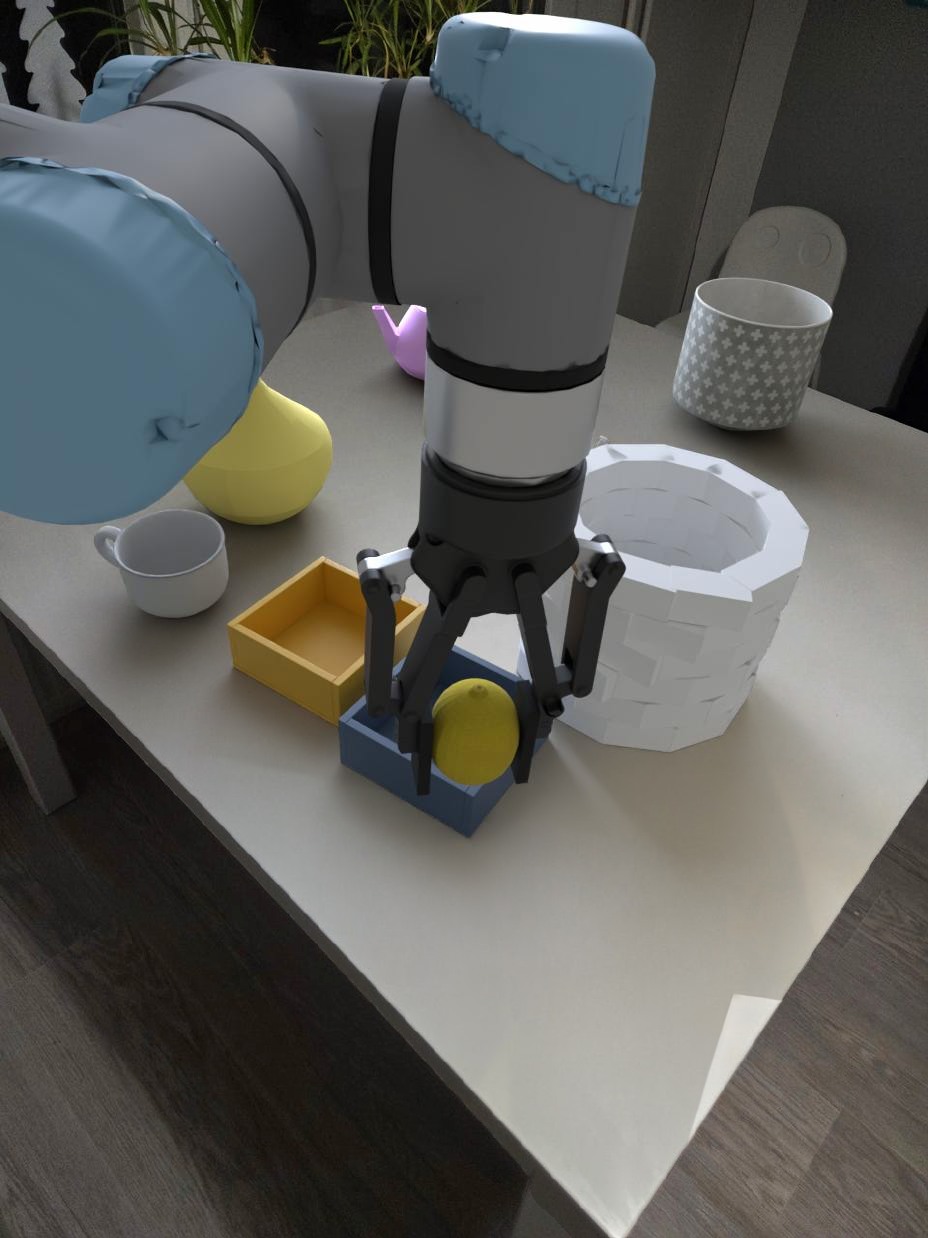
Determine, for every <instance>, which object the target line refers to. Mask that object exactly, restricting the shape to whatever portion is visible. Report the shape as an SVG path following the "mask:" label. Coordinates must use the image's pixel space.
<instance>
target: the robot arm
mask: <svg viewBox="0 0 928 1238" xmlns="http://www.w3.org/2000/svg"><path fill="white" fill-rule="evenodd" d="M435 51H436V52H435V57H434V58H435V59H434V61H432V64H431V65H430V67H429V76H417V75H416V76H415V75H414V76H412V77H410V79H409V78H399V77H391V78H384V77H375V76H366V75H358V74H357V75H356V74H347V73H339V72H331V71H324V70H323V71H322V70H314V69H313V70H312V69H305V68H296V67H288V66H287V67H286V66H278V65H269V64H261V63H253V62H243V61H235V60H227V59H219V58H218V57H217V56H216V55H215V54H212V53H206V52H205V53H204V52H196V51H194V50H192V52H188V53H186V54H183V55H170V56H169V55H167V56H165V55H164V56H163V55H141V54H140V55H139V54H128V55H121V56H118V57H116V58H114V59H110V60H108V61H107V62H106V63H105V64H104V65H102V67H101V68H100V69H99V70H97V72H96V73H95V77H94V79H93V87H92V93H91V94H90V95H87V96H86V97H85V98H84V101H83V102H82V105H81V109H80V113H79V119H78V120H79V121H78V122H74V121H68V120H63V119H58V118H55V117H52V116H49V115H46V114H42V113H39V112H35V111H33V110H32V111H31V110H28V109H25V108H22V107H19V106H15V105H11V104H9V103H8V104H7V103H4V102H1V101H0V512H3V513H5V514H6V513H7V514H10V515H12V516H16V517H18V518H22V519H25V520H30V521H34V522H39V523H43V524H51V525H60V526H86V525H95V524H103V523H107V522H111V521H116V520H119V519H124V518H127V517H129V516H132V515H134V514H137V513H139V512H141V511H144V510H146V509H147V508H149V507H151V506H152V505H154V504H156V502H158V501H160V500H161V499H162V498H163V497H164V496H166V495H167V494H168V493H170V492H171V491H172V490H173V489H174V488H175V487H176V486H177V485H178V484H179V483H180V482H181V481H182V478H183V477H184V476H185V475H186V474H187V473H188V472H189V471H190V470H191V469H192V468H193V467H194V466H195V465H196V464H197V463H198V462H199V461H200V460H201V459H202V457H203V456H204V455H205V454H206V453H207V452H208V451H209V450H210V449H211V448H212V447H213V446H214V445H216V444H217V443H218V442H219V441H220V440H222V439H223V438H224V437H225V436H226V435H227V434H228V433H229V432H230V431H231V429H232V427H233V425H234V424H235V423H236V422H237V421H238V420H239V419H240V418H241V417H242V416H243V414H244V412H245V411H246V409H247V406H248V403H249V400H250V398H251V395H252V392H253V390H254V388H255V387H256V386H257V384H258V381H259V378H261V376H262V375H263V373H264V371H265V370H266V369H267V367H268V365H269V364H270V363H271V361H272V359H273V358H274V357H275V355H276V354H277V352H278V350H279V349H280V348H281V346H282V345H283V343H284V342H285V341H286V340H287V339H288V338H289V337H290V336H291V335H292V334H293V332H294V331H295V329H297V327H299V325H300V324H301V322H302V320H303V319H304V318H305V316H306V315H307V313H309V310H310V309H311V307H312V306H313V305H314V303H315V302H316V300H317V299H318V298H320V299H331V300H340V301H351V302H360V303H371V304H380V305H390V306H402V305H406V306H407V305H408V306H412V305H416V306H421V307H424V308H426V316H427V329H426V369H425V380H424V390H423V410H422V413H423V414H422V436H423V438H424V442H423V444H422V447H421V455H420V456H421V457H420V458H421V459H420V481H419V482H420V485H419V508H418V522H417V526H416V528H415V529H414V531H413V532H412V534H411V535H410V537H409V538H408V541H407V545H406V547H404V548H402V549H398V550H394V551H392V552H389V553H386V554H380V553H379V551H378V550H376V549H375V548H370V547H369V548H364V549H361V550H359V552H358V553H357V554H356V557H355V561H356V565H357V566H356V567H357V573H358V574H359V580H360V586H361V592H362V594H363V596H364V599H365V601H366V626H365V651H364V675H363V682H364V690H365V697H366V704H367V710H368V715H369V716H370V717H372V718H376V719H379V718H383V717H385V716H387V715H388V714H391V715H394V716H395V734H396V739H397V745H398V749H399V751H400V753H401V754H407V753H411V765H412V770H413V775H414V781H415V786H416V791H417V796H421V795H429V794H430V778H431V763H432V748H433V733H434V721H433V716H432V712H431V707H430V703H429V699H430V696H431V694H432V692H433V690H434V688H435V685H436V683H437V681H438V679H439V677H440V674H441V672H442V670H443V668H444V665H445V663H446V661H447V659H448V657H449V654H450V652H451V650H452V648H453V646H454V645H455V644H456V641H457V639H458V638H462V637H463V636H464V634H465V632H466V630H467V628H468V626H469V623H470V621H471V619H472V618H479V617H482V616H486V615H490V614H498V615H504V616H505V615H506V616H509V615H516V621H517V625H518V624H519V627H518V630H519V629H520V630H519V633H521V637H522V641H523V646H524V650H525V654H526V659H527V663H528V667H529V672H530V676H531V678H532V684H530V681H529V680H519V681H517V684H516V690H515V697H514V705H515V708H516V711H517V714H518V718H519V744H518V748H517V751H516V753H515V756H514V758H513V761H512V763H511V764H510V766H511V769H512V772H513V776H514V779H515V781H514V783H515V785H522V784H529V783H528V782H529V778H530V773H531V766H532V762H533V758H534V756H533V751H534V746H535V741H536V739H541V738H547V736H548V735H549V736H550V734H551V733H552V729H553V723H554V719H556V718H557V717H559V716H561V715H562V714H563V712H564V710H565V708H564V705H563V703H562V700H561V699H562V698H563V697H566V696H568V695H571V694H573V696H574V697H576V698H583V697H586V696H588V695H589V694H590V693H591V691H592V689H593V684H594V678H595V673H596V668H597V662H598V657H599V651H600V646H601V641H602V635H603V630H604V625H605V619H606V614H607V609H608V603H609V598H610V596H611V595H612V593H613V591H614V590H615V588H616V586H617V585H618V583H619V582H620V580H621V578H622V577H623V575H624V573H625V571H626V565H625V564H624V562H623V560H622V558H621V557H620V555H619V553H618V551H617V549H616V547H615V546H614V544H613V542H612V540H611V538H610V537H609V536H608V535H606V534H598V535H596V536H594V537H593V538H592V539H591V540H585V539H581V538H576V536H575V533H574V529H575V526H576V524H577V519H578V514H579V508H580V503H581V498H582V492H583V487H584V482H585V476H586V471H587V461H586V458H585V457H586V456H588V455H589V452H590V449H592V447H593V445H592V444H593V442H594V435H595V429H596V424H597V419H598V413H599V407H600V401H601V396H602V390H603V385H604V378H605V373H606V366H607V365H606V364H607V361H608V354H609V351H610V344H611V339H612V336H613V331H614V324H615V320H616V316H617V310H618V305H619V299H620V295H621V291H622V287H623V282H624V281H623V280H624V276H625V271H626V266H627V260H628V255H629V251H630V246H631V241H632V235H633V230H634V226H635V222H636V221H635V220H636V217H637V211H638V206H639V204H640V201H641V197H642V194H643V192H642V191H641V187H642V178H643V177H642V176H643V170H644V163H645V156H646V149H647V142H648V135H649V130H650V129H649V128H650V121H651V116H652V115H651V114H652V108H653V107H652V106H653V100H654V94H655V87H656V79H657V74H656V73H657V72H656V63H655V61H654V59H653V57H652V56H651V55H650V53H649V51H648V48H647V46H646V44H645V43H644V42H643V40H642V39H641V37H639V36H638V35H637V34H636V33H634V32H632V31H630V30H628V29H626V28H623V27H619V26H616V25H612V24H609V23H605V22H598V21H595V20H594V21H593V20H587V19H581V18H573V17H565V16H556V15H546V14H533V13H524V14H517V13H511V14H510V13H505V12H498V11H497V12H496V11H478V12H477V11H476V12H465V13H460V14H457V15H453V16H451V17H450V18H448V20H447V21H445V23H443V25H442V26H441V29H440V30H439V33H438V37H437V43H436V50H435ZM591 446H592V447H591ZM571 566H572V569H573V572H574V576H573V582H572V588H571V595H570V602H569V609H568V616H567V623H566V630H565V636H564V643H563V650H562V657H561V665H558V666H555V667H554V662H553V657H552V652H551V647H550V642H549V637H548V632H547V627H546V625H547V620H546V615H545V610H544V605H543V600H542V595H543V594H544V593H545V592H546V591H547V590H548V589H549V588H550V587H551V586H552V585H553V584H554V583H555V582H556V581H557V580H558V579H559V578H560V577H561V576H562V575H563V574H564V573H565V572H566V571H567V570H568V569H569V568H570V567H571ZM413 575H416V576H417V578H419V579H420V580H421V582H422V583H423V584H424V585H425V586H426V587H427V588H428V589H429V592H428V602H427V605H426V606H427V608H426V610H425V613H424V615H423V617H422V620H421V622H420V625H419V627H418V630H417V632H416V634H415V637H414V639H413V642H412V644H411V647H410V649H409V651H408V654H407V656H406V659H405V661H404V664H403V666H402V668H401V671H400V673H399V675H398V677H397V678H396V676H395V675H393V680H394V681H392V672H393V659H394V645H395V631H396V612H395V607H394V602H398V601H400V599H401V597H402V596H401V595H404V593H405V592H406V586H407V585H406V583H407V580H408V579H409V578H410V577H411V576H413ZM547 739H548V738H547ZM532 757H533V758H532Z"/></svg>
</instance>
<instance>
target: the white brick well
mask: <svg viewBox="0 0 928 1238" xmlns="http://www.w3.org/2000/svg"><path fill="white" fill-rule="evenodd" d="M585 458H586V461H587V471H586V476H585V482H584V487H583V492H582V498H581V503H580V508H579V514H578V519H577V524H576V526H575V529H574V533H575V536H576V538H581V539H585V540H591V539H592V538H593V537H594V536H596V535H598V534H606V535H608V536H609V537H610V538H611V540H612V542H613V544H614V546H615V547H616V549H617V551H618V553H619V555H620V557H621V558H622V560H623V562H624V564H625V565H626V571H625V573H624V575H623V577H622V578H621V580H620V582H619V583H618V585H617V586H616V588H615V590H614V591H613V593H612V595H611V596H610V598H609V603H608V609H607V614H606V619H605V625H604V630H603V635H602V641H601V646H600V651H599V657H598V662H597V668H596V673H595V678H594V684H593V689H592V691H591V693H590V694H589V695H588V696H586V697H583V698H576V697H574V696H573V694H571V695H568V696H566V697H563V698H562V699H561V700H562V703H563V705H564V708H565V710H564V712H563V714H562V715H561V716H559V717H557V718H555V719H556V720H559V721H560V722H561V723H563V724H565V725H567V726H569V727H571V728H572V729H574V730H576V731H578V732H580V733H582V734H583V735H584V736H587V737H588V738H591V739H592V740H594V741H596V742H598V743H599V744H601V745H608V746H616V747H617V746H618V747H623V748H632V749H640V750H647V751H654V752H655V751H657V752H664V753H673V752H675V751H678V750H681V749H684V748H687V747H690V746H693V745H696V744H700V743H703V742H705V741H708V740H711V739H715V738H717V737H718V738H719V737H720V736H723V735H724V733H725V732H726V730H727V728H728V727H729V726H730V724H731V723H732V721H733V720H734V718H735V717H736V715H738V712H739V711H740V709H741V708H742V707H743V705H744V703H745V702H746V700H747V699H748V697H749V695H750V693H751V690H752V687H753V685H754V683H755V680H756V679H757V676H758V674H757V673H758V668H759V664H760V663H761V661H762V660H763V659H764V657H765V655H766V654H767V652H768V649H769V648H770V647H771V646H772V645H771V644H772V642H773V640H774V637H775V635H776V633H777V630H778V628H779V625H780V622H781V620H780V618H781V613H782V612H783V610H784V609H785V608H786V606H788V605H789V602H790V599H791V597H792V594H793V592H794V590H795V588H796V584H797V583H798V580H799V573H800V570H801V568H802V564H803V559H804V555H805V550H806V546H807V542H808V538H809V534H810V531H811V528H810V527H809V525H808V524H807V523H806V521H805V520H804V519H803V517H802V516H801V515H800V513H799V512H798V510H797V509H796V507H794V505H793V503H792V502H791V501H790V500H789V498H788V497H787V495H786V494H785V493H784V491H783V490H778V489H777V488H775V487H773V486H772V485H770V484H769V483H766V482H765V481H764V480H761V479H759V478H757V477H756V476H754V475H752V474H750V473H749V472H747V471H745V470H743V469H741V468H740V467H738V466H736V465H735V464H732V462H729V461H728V460H727V459H723V458H719V457H715V456H711V455H707V454H703V453H699V452H695V451H691V450H687V449H683V448H680V447H675V446H672V445H668V444H667V443H665V444H664V443H655V444H654V443H653V444H651V443H650V444H649V443H648V444H647V443H645V444H643V443H642V444H641V443H639V444H637V443H636V444H635V443H633V444H629V443H627V444H626V443H624V444H623V443H621V444H617V443H616V444H615V443H613V444H612V443H609V444H608V443H606V444H605V443H604V445H603V444H602V445H600V446H596V447H594V448H591V450H590V452H589V455H588V456H586V457H585ZM573 576H574V572H573V569H572V566H571V567H570V568H569V569H568V570H567V571H566V572H565V573H564V574H563V575H562V576H561V577H560V578H559V579H558V580H557V581H556V582H555V583H554V584H553V585H552V586H551V587H550V588H549V589H548V590H547V591H546V592H545V593H544V594H543V595H542V600H543V605H544V610H545V615H546V620H547V625H546V627H547V632H548V637H549V642H550V647H551V652H552V657H553V662H554V667H555V666H558V665H561V657H562V650H563V643H564V636H565V630H566V623H567V616H568V609H569V602H570V595H571V588H572V582H573ZM517 627H518V630H519V631H520V629H519V624H518V623H517ZM519 633H520V632H519ZM517 652H518V654H517V664H516V671H517V674H518V675H519V677H520V678H522V679H524V680H529V681H530V683H532V678H531V676H530V672H529V667H528V663H527V659H526V654H525V650H524V646H523V641H522V637H521V633H520V634H519V643H518V651H517Z"/></svg>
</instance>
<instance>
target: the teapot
mask: <svg viewBox="0 0 928 1238" xmlns="http://www.w3.org/2000/svg"><path fill="white" fill-rule="evenodd" d="M372 313H373V316H374V318H375V321H376V322H377V325H378V327H379V329H380V332H381V334H382V337H383V339H384V342H385V344H386V347H387V349H388V351H389V354H390V355H393V356H394V359H395V361H396V363H398V365H399V366H400V367H401V369H402V370H403V371H405V372H406V373H407V374H408V375H409V376H410V377H411V376H412V377H413V378H416V379H418V380H422V381H425V369H426V329H427V316H426V308H424V307H421V306H416V305H410V307H409V308H408V310H407V311H406V312H405V314H404V316H403V318H402V319H401V321H400V323H399V325H398V326H396V325H395V323H394V322H393V320H392V318H391V317H390V315H389V314H388V312H387V310H386V309H385V306H384V305H372Z"/></svg>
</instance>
